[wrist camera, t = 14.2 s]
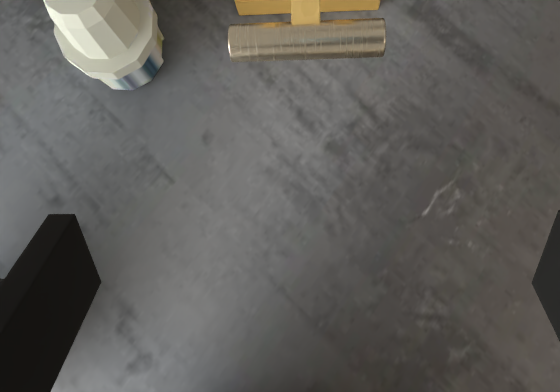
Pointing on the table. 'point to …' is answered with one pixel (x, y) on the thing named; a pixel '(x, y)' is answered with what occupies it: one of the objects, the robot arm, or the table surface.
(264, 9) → the yellow lever stand
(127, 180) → the table surface
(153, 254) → the table surface
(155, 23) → the white handheld electric wand
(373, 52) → the tap lever
